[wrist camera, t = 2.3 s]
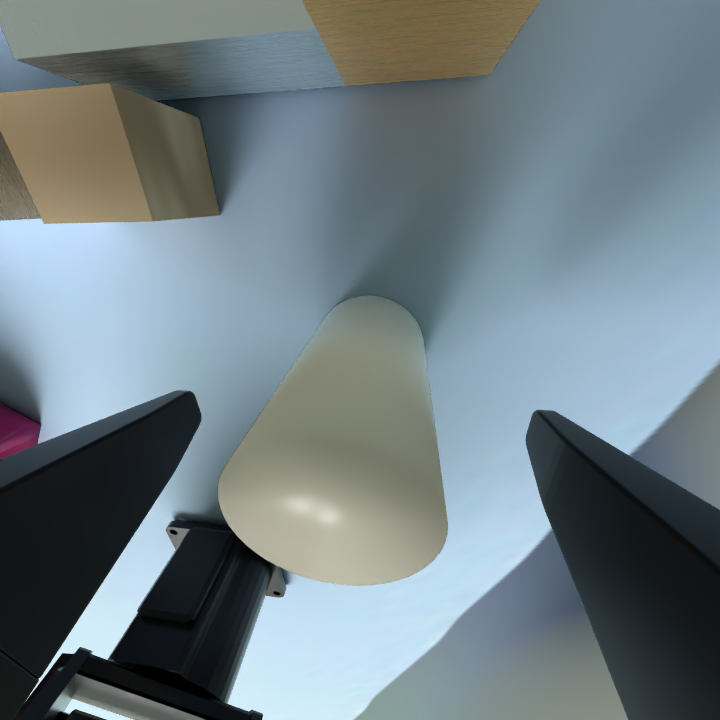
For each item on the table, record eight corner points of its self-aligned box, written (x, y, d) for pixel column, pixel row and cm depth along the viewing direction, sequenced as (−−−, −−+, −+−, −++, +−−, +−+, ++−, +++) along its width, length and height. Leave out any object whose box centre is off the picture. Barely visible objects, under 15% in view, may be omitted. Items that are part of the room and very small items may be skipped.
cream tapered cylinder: (420, 394, 12) (436, 597, 6) (322, 389, 13) (243, 571, 6) (428, 295, 10) (463, 442, 4) (312, 294, 11) (188, 423, 5)
